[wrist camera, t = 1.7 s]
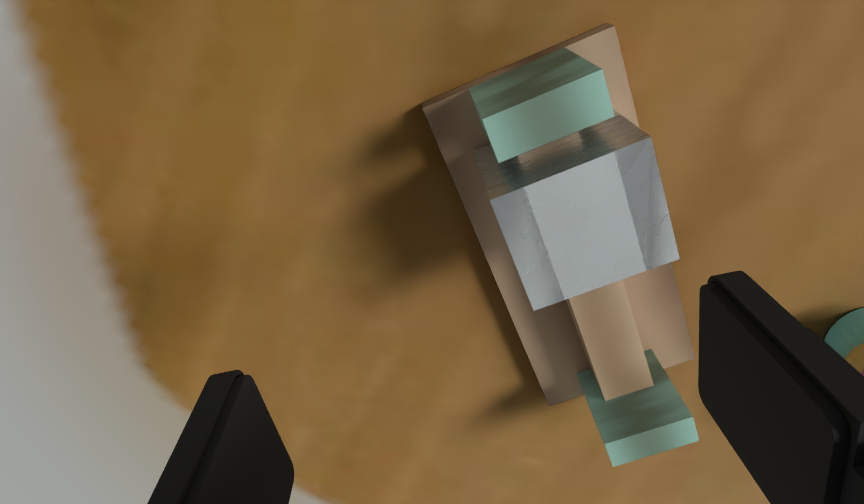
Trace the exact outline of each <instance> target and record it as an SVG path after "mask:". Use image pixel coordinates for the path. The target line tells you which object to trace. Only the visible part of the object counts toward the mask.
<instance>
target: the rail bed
mask: <svg viewBox="0 0 864 504" xmlns="http://www.w3.org/2000/svg"><path fill="white" fill-rule="evenodd" d="M422 109H423V111H424V113H425V116H426V118H427V120H428V123H429V125H430V127H431V130H432V132H433V134H434V137H435V139H436V141H437V144H438V146H439V149H440V151H441V153H442V156H443V158H444V160H445V163H446V165H447V167H448V170H449V172H450V174H451V177H452V179H453V181H454V184H455V186H456V188H457V191H458V193H459V196H460V198H461V200H462V203H463V205H464V207H465V210H466V212H467V214H468V217H469V219H470V221H471V224H472V226H473V228H474V231H475V233H476V235H477V238H478V240H479V243H480V245H481V247H482V250H483V252H484V254H485V257H486V259H487V261H488V264H489V266H490V268H491V271H492V273H493V275H494V278H495V280H496V282H497V285H498V287H499V290H500V292H501V294H502V297H503V299H504V301H505V304H506V306H507V308H508V311H509V313H510V315H511V318H512V320H513V322H514V325H515V327H516V329H517V332H518V334H519V337H520V339H521V341H522V344H523V346H524V348H525V351H526V353H527V355H528V358H529V360H530V362H531V365H532V367H533V369H534V372H535V374H536V376H537V379H538V381H539V384H540V386H541V388H542V391H543V393H544V395H545V398H546V400H547V402H548V405H549V406H552V405H555V404H558V403H561V402H564V401H567V400H570V399H573V398H576V397H579V396H582V395H585V397H586V400H587V402H588V405H589V407H590V410H591V412H592V415H593V417H594V420H595V422H596V425H597V427H598V430H599V432H600V435H601V437H602V440H603V442H604V445H605V447H606V450H607V452H608V455H609V457H610V460H611V462H612V465H613V467H614V466H618V465H621V464H624V463H627V462H631V461H634V460H637V459H641V458H644V457H647V456H650V455H654V454H657V453H660V452H664V451H667V450H670V449H673V448H677V447H680V446H683V445H687V444H690V443H693V442H696V441H699V438H698V434H697V430H696V427H695V423H694V419H693V416H692V414H691V413H690V411H689V410H688V408H687V406H686V405H685V403H684V401H683V400H682V398H681V397H680V395H679V393H678V392H677V390H676V388H675V387H674V385H673V384H672V382H671V380H670V379H669V377H668V375H667V374H666V372H665V371H664V369H665V368H668V367H671V366H674V365H677V364H680V363H683V362H686V361H689V360H692V359H695V356H694V352H693V348H692V344H691V340H690V336H689V331H688V327H687V323H686V319H685V315H684V311H683V307H682V302H681V298H680V294H679V290H678V286H677V282H676V278H675V273H674V269H673V265H672V262H670V263H667V264H664V265H661V266H658V267H656V268H653V269H650V270H647V271H644V272H642V273H639V274H636V275H633V276H630V277H628V278H625V279H622V280H619V281H616V282H614V283H611V284H608V285H605V286H602V287H600V288H597V289H594V290H591V291H588V292H586V293H583V294H580V295H577V296H574V297H572V298H569V299H566V300H563V301H560V302H557V303H555V304H552V305H549V306H546V307H543V308H541V309H538V310H535V311H533V308H532V306H531V303H530V300H529V298H528V295H527V293H526V290H525V288H524V285H523V283H522V280H521V278H520V275H519V273H518V270H517V268H516V265H515V263H514V260H513V258H512V255H511V253H510V250H509V248H508V245H507V243H506V240H505V238H504V235H503V233H502V230H501V228H500V225H499V223H498V220H497V218H496V215H495V213H494V210H493V208H492V205H491V203H490V200H489V197H488V194H487V191H486V188H485V185H484V182H483V179H482V176H481V173H480V169H479V166H478V163H477V160H476V157H475V154H474V150H477V149H479V148H481V147H484V146H486V145H489V144H491V146H492V149H493V151H494V153H495V156H496V158H497V160H498V163H500V162H503V161H505V160H508V159H511V158H513V157H516V156H518V155H521V154H523V153H526V152H528V151H531V150H533V149H536V148H538V147H541V146H543V145H546V144H548V143H551V142H553V141H556V140H558V139H561V138H563V137H565V136H568V135H570V134H573V133H575V132H578V131H579V130H582V129H584V128H587V127H589V126H592V125H594V124H597V123H599V122H602V121H604V120H607V119H609V118H612V117H614V112H613V109H614V110H616V111H617V112H618V113H620V114H621V115H622V116H624V117H625V118H626V119H628V120H629V121H630V122H632V123H633V124H634V125H636V126H637V127H638V128H639V124H638V120H637V116H636V112H635V108H634V103H633V99H632V95H631V91H630V87H629V83H628V79H627V74H626V70H625V66H624V62H623V58H622V54H621V50H620V45H619V41H618V37H617V33H616V29H615V26H614V25H611V24H608V23H606V24H604V25H601V26H599V27H597V28H594V29H592V30H590V31H587V32H585V33H583V34H580V35H578V36H576V37H573V38H571V39H569V40H566V41H564V42H562V43H559V44H557V45H555V46H553V47H550V48H548V49H546V50H543V51H541V52H539V53H536V54H534V55H532V56H529V57H527V58H525V59H522V60H520V61H518V62H515V63H513V64H511V65H508V66H506V67H504V68H502V69H499V70H497V71H495V72H492V73H490V74H488V75H485V76H483V77H481V78H478V79H476V80H474V81H471V82H469V83H467V84H464V85H462V86H460V87H457V88H455V89H453V90H451V91H448V92H446V93H444V94H441V95H439V96H437V97H434V98H432V99H430V100H427V101H425V102H423V103H422Z"/></svg>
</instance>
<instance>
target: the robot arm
mask: <svg viewBox="0 0 864 504" xmlns="http://www.w3.org/2000/svg"><path fill="white" fill-rule="evenodd" d="M698 387H699V394H700V397H701V399H702V402H703V404H704V405H705V407H706V409H707V410H708V412H709V413H710V414H711V416H712V417H713V419H714V420H715V422H716V423H717V425H718V426H719V428H720V429H721V431H722V432H723V434H724V435H725V437H726V438H727V440H728V441H729V443H730V444H731V446H732V447H733V449H734V450H735V452H736V453H737V455H738V456H739V457H740V459H741V460H742V462H743V463H744V465H745V466H746V468H747V469H748V471H749V472H750V474H751V475H752V477H753V478H754V480H755V481H756V483H757V484H758V486H759V487H760V489H761V490H762V492H763V493H764V495H765V496H766V498H767V499H768V500H769V502H770V503H771V504H864V376H863V375H862V374H861V373H860V372H859V371H857V370H856V369H855V368H854V367H853V366H852V365H851V364H850V363H849V362H847V361H846V360H845V359H844V358H843V357H842V356H841V355H840V354H839V353H837V352H836V351H835V350H834V349H833V348H832V347H831V346H830V345H829V344H827V343H826V342H825V341H824V340H823V339H822V338H821V337H820V336H819V335H817V334H816V333H815V332H813V331H812V330H811V329H809V328H805V327H804V326H803V325H802V324H801V323H800V322H799V321H798V320H796V319H795V318H794V317H793V316H792V315H791V314H790V313H789V312H788V311H787V310H785V309H784V308H783V307H782V306H781V305H780V304H779V303H778V302H777V301H776V300H774V299H773V298H772V297H771V296H770V295H769V294H768V293H767V292H766V291H765V290H763V289H762V288H761V287H760V286H759V285H758V284H757V283H756V282H755V281H754V280H752V279H751V278H750V277H749V276H748V275H747V274H746V273H744V272H743V271H735V272H730V273H725V274H719V275H714V276H711V277H710V278H709V279H708V283H707V284H706V285H702V286H701V288H700V307H699V377H698ZM293 481H294V468H293V464H292V461H291V459H290V457H289V455H288V453H287V450H286V448H285V446H284V444H283V442H282V440H281V437H280V435H279V433H278V431H277V429H276V427H275V425H274V422H273V420H272V418H271V416H270V414H269V412H268V410H267V407H266V405H265V403H264V401H263V399H262V397H261V395H260V392H259V390H258V388H257V386H256V384H255V382H254V380H253V378H252V377H251V376H250V375H244V374H243V372H241V371H240V370H234V371H229V372H224V373H219V374H214V375H211V376H210V377H209V378H208V380H207V382H206V384H205V386H204V388H203V390H202V392H201V395H200V397H199V399H198V401H197V403H196V405H195V407H194V409H193V411H192V413H191V415H190V417H189V419H188V421H187V423H186V425H185V428H184V430H183V432H182V434H181V436H180V438H179V440H178V442H177V444H176V446H175V448H174V450H173V452H172V455H171V456H170V458H169V460H168V462H167V465H166V467H165V469H164V471H163V473H162V475H161V477H160V479H159V481H158V483H157V485H156V487H155V489H154V491H153V493H152V495H151V497H150V500H149V502H148V504H288V503H289V499H290V495H291V490H292V486H293Z"/></svg>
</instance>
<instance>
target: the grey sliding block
mask: <svg viewBox="0 0 864 504" xmlns="http://www.w3.org/2000/svg"><path fill="white" fill-rule="evenodd" d="M613 112H614V117H612V118H609V119H607V120H604V121H602V122H599V123H597V124H594V125H592V126H589V127H587V128H584V129H582V130H579V131H578V132H575V133H573V134H570V135H568V136H565V137H563V138H561V139H558V140H556V141H553V142H551V143H548V144H546V145H543V146H541V147H538V148H536V149H533V150H531V151H528V152H526V153H523V154H521V155H518V156H516V157H513V158H511V159H508V160H505V161H503V162H500V163H498V160H497V158H496V156H495V153H494V151H493V149H492V146H491V144H489V145H486V146H484V147H481V148H479V149H477V150H474V154H475V157H476V160H477V163H478V166H479V169H480V173H481V176H482V179H483V182H484V185H485V188H486V191H487V194H488V197H489V200H490V203H491V205H492V208H493V210H494V213H495V215H496V218H497V220H498V223H499V225H500V228H501V230H502V233H503V235H504V238H505V240H506V243H507V245H508V248H509V250H510V253H511V255H512V258H513V260H514V263H515V265H516V268H517V270H518V273H519V275H520V278H521V280H522V283H523V285H524V288H525V290H526V293H527V295H528V298H529V300H530V303H531V306H532V308H533V311H535V310H538V309H541V308H543V307H546V306H549V305H552V304H555V303H557V302H560V301H563V300H566V299H569V298H572V297H574V296H577V295H580V294H583V293H586V292H588V291H591V290H594V289H597V288H600V287H602V286H605V285H608V284H611V283H614V282H616V281H619V280H622V279H625V278H628V277H630V276H633V275H636V274H639V273H642V272H644V271H647V270H650V269H653V268H656V267H658V266H661V265H664V264H667V263H670V262H672V261H675V260H678V259H679V255H678V250H677V246H676V242H675V237H674V233H673V229H672V224H671V220H670V216H669V212H668V207H667V203H666V199H665V194H664V190H663V186H662V181H661V177H660V173H659V169H658V164H657V160H656V156H655V151H654V147H653V143H652V139H651V136H649V135H648V134H647V133H645V132H644V131H642V130H641V129H640V128H638V127H637V126H636V125H634V124H633V123H632V122H630V121H629V120H628V119H626V118H625V117H624V116H622V115H621V114H620V113H618V112H617V111H616V110H614V109H613Z"/></svg>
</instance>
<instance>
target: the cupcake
mask: <svg viewBox="0 0 864 504" xmlns="http://www.w3.org/2000/svg"><path fill="white" fill-rule="evenodd" d="M824 341H825V342H826V343H827V344H829V345H830V346H831V347H832V348H833V349H834V350H835V351H836V352H837V353H839V354H840V355H841V356H842V357H843V358H844V359H845V360H846V361H847V362H849V363H850V364H851V365H852V366H853V367H854V368H855V369H856V370H857V371H859V372H860V373H861V374H862V375H863V376H864V308H860V309H857V310H854V311H852V312H850V313H848V314H846V315H845V316H843V317H842V318H840V319H839V320H838V321H837V322H836V323H835V324H834V325H833V326H832V327H831V328H830V330H829V331H828V333H827V335H826V337H825V340H824Z"/></svg>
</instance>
